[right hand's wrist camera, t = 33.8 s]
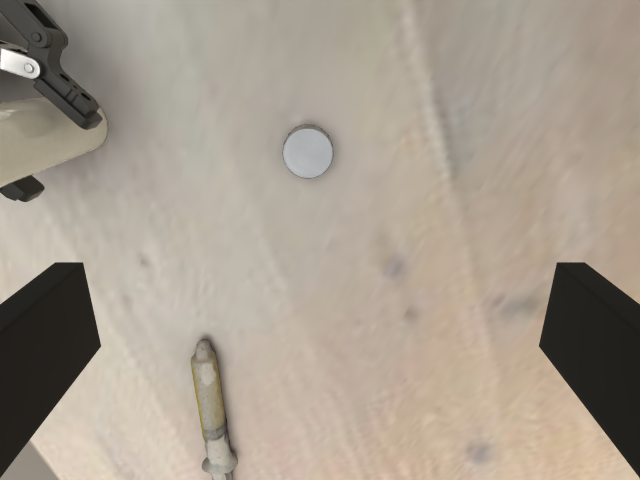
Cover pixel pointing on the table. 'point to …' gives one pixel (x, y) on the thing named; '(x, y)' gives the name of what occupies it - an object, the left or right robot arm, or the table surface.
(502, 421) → the table surface
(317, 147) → the cap
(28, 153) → the bottle
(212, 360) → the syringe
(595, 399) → the right robot arm
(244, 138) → the table surface
